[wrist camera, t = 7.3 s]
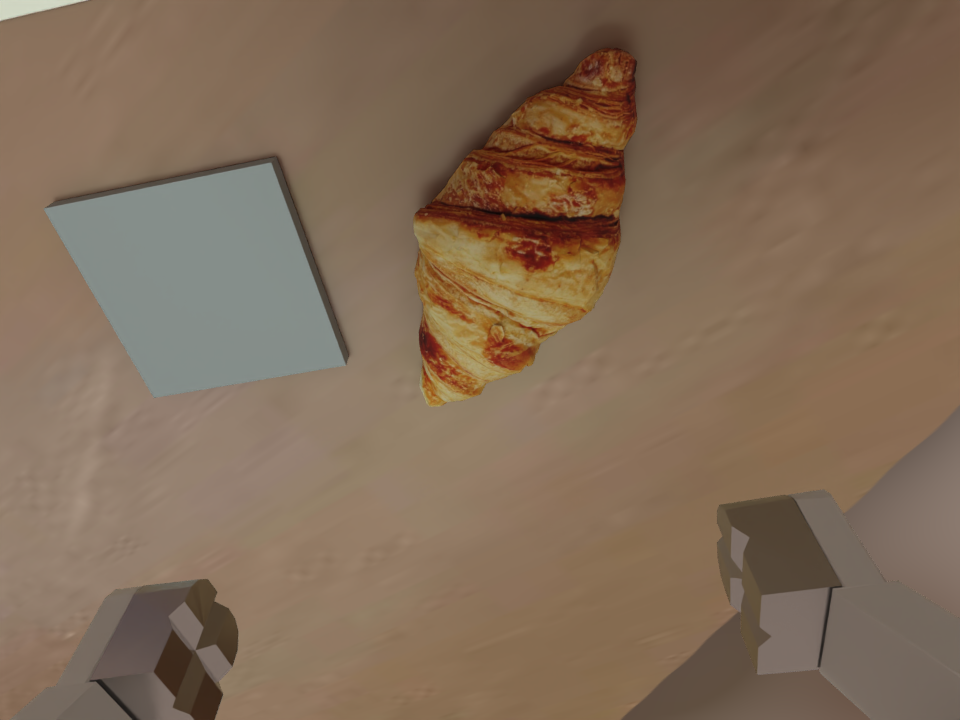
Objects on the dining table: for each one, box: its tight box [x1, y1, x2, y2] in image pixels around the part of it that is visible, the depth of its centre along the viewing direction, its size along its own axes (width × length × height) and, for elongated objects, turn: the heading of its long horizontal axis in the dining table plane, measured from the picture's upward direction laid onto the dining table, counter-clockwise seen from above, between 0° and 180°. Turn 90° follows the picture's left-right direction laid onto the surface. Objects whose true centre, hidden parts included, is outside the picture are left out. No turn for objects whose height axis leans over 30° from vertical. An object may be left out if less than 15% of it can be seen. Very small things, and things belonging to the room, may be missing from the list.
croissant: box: [413, 48, 637, 407], centre depth 33 cm, size 21×10×8 cm, turn 156°
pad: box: [44, 157, 349, 398], centre depth 35 cm, size 12×12×1 cm
